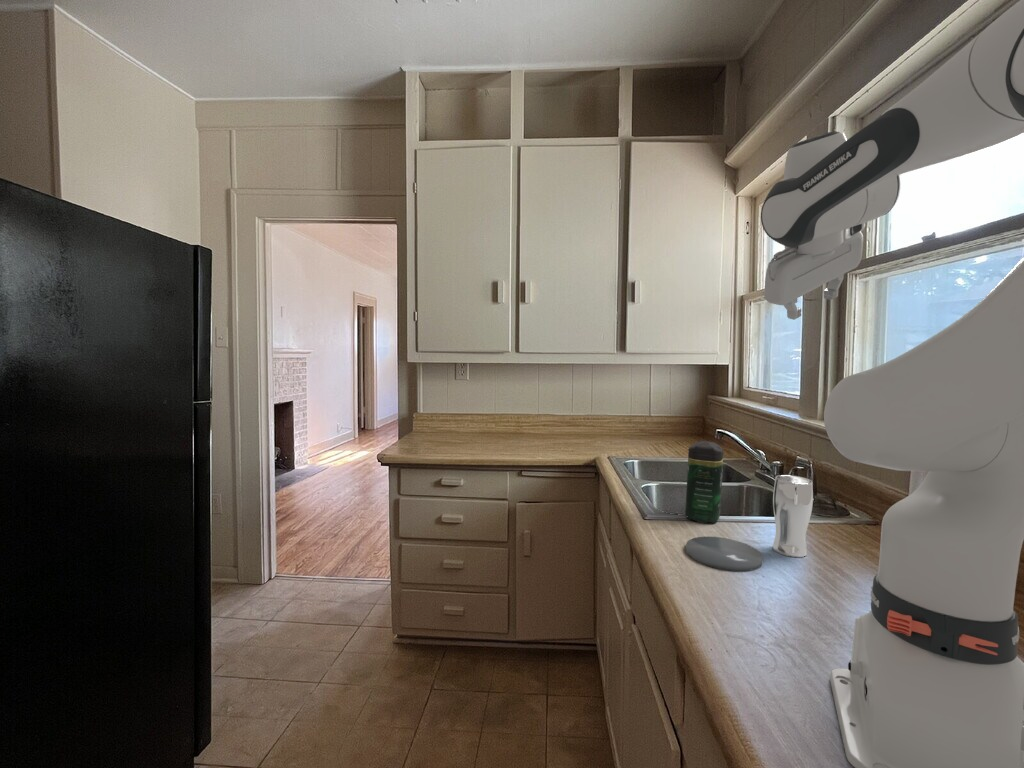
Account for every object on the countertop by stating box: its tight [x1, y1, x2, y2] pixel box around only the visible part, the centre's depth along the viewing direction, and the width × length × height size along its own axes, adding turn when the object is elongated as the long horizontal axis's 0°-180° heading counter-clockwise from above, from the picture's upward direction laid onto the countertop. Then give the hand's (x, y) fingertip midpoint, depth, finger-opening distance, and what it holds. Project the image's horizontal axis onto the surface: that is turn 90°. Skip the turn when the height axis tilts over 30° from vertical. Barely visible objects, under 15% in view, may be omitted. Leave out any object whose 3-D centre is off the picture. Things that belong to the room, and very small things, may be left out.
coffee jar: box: [684, 440, 724, 524], centre depth 117 cm, size 10×8×19 cm
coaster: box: [685, 536, 764, 572], centre depth 96 cm, size 14×14×1 cm
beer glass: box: [772, 474, 814, 558], centre depth 98 cm, size 7×7×15 cm
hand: (812, 307), depth 90 cm, fingers open, 8 cm apart
